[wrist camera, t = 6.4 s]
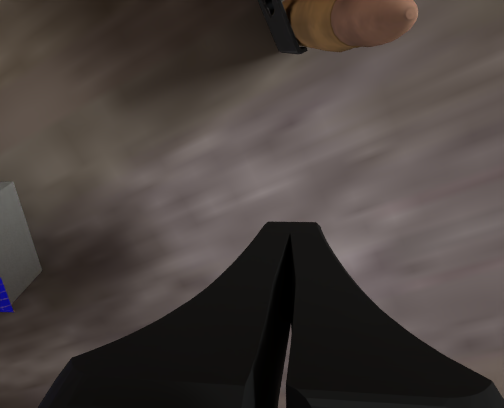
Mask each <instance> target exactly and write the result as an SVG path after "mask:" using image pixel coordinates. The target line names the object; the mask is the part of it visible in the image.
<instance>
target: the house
mask: <svg viewBox="0 0 504 408" xmlns="http://www.w3.org/2000/svg"><path fill="white" fill-rule="evenodd" d="M41 272H42V268H41V265H40V262H39V259H38V256H37V253H36V250H35V247H34V244H33V241H32V238H31V234H30V231H29V228H28V225H27V222H26V219H25V216H24V213H23V210H22V207H21V204H20V201H19V198H18V195H17V192H16V189H15V186H14V183H13V182H0V312H14V311H15V310H13V308H12V306H11V305H12V303H13V302H14V301H15V300H16V299H17V298H18V297H19V295H20V294H21V293H22V292H23V291H24V290H25V289H26V288H27V287H28V286H29V285H30V283H31V282H32V281H33V280H34V279H35V278H36V277H37V276H38V275H39V274H40V273H41Z"/></svg>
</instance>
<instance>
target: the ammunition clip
mask: <svg viewBox="0 0 504 408" xmlns="http://www.w3.org/2000/svg"><path fill="white" fill-rule="evenodd" d="M258 2H259V4H260V7H261V9H262V12H263V14H264V16H265V19H266V21H267V24H268V26H269V29H270V31H271V34H272V36H273V38H274V41H275V43H276V46H277V48H278V51H279V52H282V53H292V54H302V53H304V52H306V51H307V48H306V47H310V48H315V49H320V50H325V51H332V52H342V51H346V50H350V49H352V48H358V47H373V46H377V45H382V44H385V43H389V42H391V41H394V40H396V39H397V38H399V37H400V36H402V35H403V34H404V33H406V32H407V31H408V30H410V29H411V27H412V26H413V25H414V23H415V22H416V19H417V17H418V8H417V5H416V3H415V2H414V0H258ZM299 45H301V46H305V47H299Z"/></svg>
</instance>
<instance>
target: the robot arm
mask: <svg viewBox="0 0 504 408" xmlns="http://www.w3.org/2000/svg"><path fill="white" fill-rule="evenodd" d="M290 325H291V328H292V337H291V347H290V356H289V364H288V373H287V380H286V408H504V399H503V397H502V396H501V394H500V393H499V391H498V389H497V388H496V386H495V385H494V383H493V382H492V381H491V380H489V379H487V378H486V377H484V376H482V375H480V374H478V373H476V372H474V371H473V370H471V369H469V368H467V367H465V366H463V365H461V364H459V363H458V362H456V361H454V360H452V359H450V358H448V357H446V356H445V355H443V354H441V353H440V352H438V351H437V350H435V349H434V348H432V347H431V346H429V345H427V344H426V343H424V342H423V341H421V340H420V339H418V338H417V337H415V336H414V335H413V334H411V333H410V332H408V331H407V330H406V329H404V328H403V327H402V326H401V325H399V324H398V323H397V322H396V321H394V320H393V319H392V318H390V317H389V316H388V315H387V314H386V313H384V312H383V311H382V310H381V309H380V308H379V307H378V306H377V305H376V304H375V303H374V302H373V301H372V300H371V299H370V298H369V297H368V296H367V295H366V294H365V293H364V292H363V291H362V290H361V288H360V287H359V286H358V285H357V284H356V283H355V281H354V280H353V279H352V278H351V276H350V275H349V274H348V273H347V271H346V270H345V269H344V267H343V266H342V264H341V263H340V262H339V260H338V259H337V257H336V256H335V254H334V253H333V251H332V249H331V248H330V246H329V244H328V242H327V241H326V239H325V237H324V235H323V232H322V230H321V227H320V226H319V225H318V224H317V223H316V222H267V223H266V224H265V225H264V226H263V228H262V229H261V230H260V232H259V233H258V234H257V236H256V237H255V238H254V240H253V241H252V242H251V243H250V244H249V246H248V247H247V248H246V249H245V250H244V251H243V253H242V254H241V255H240V256H239V257H238V258H237V259H236V260H235V262H234V263H233V264H232V265H231V266H230V267H229V268H227V269H226V270H225V271H224V272H223V273H222V274H221V275H220V276H219V277H218V278H217V279H216V280H215V281H214V282H213V283H212V284H210V285H209V286H208V287H207V288H206V289H204V290H203V291H202V292H201V293H199V294H198V295H197V296H195V297H194V298H192V299H191V300H190V301H188V302H186V303H185V304H183V305H182V306H180V307H179V308H177V309H175V310H174V311H172V312H171V313H169V314H167V315H166V316H164V317H163V318H161V319H159V320H157V321H155V322H153V323H152V324H150V325H148V326H146V327H144V328H142V329H140V330H138V331H136V332H134V333H132V334H130V335H128V336H125V337H123V338H121V339H119V340H116V341H114V342H111V343H109V344H106V345H104V346H101V347H99V348H96V349H94V350H91V351H89V352H86V353H84V354H81V355H78V356H75V357H72V358H71V359H70V361H69V362H68V363H67V365H66V366H65V368H64V369H63V370H62V372H61V373H60V374H59V376H58V377H57V378H56V380H55V381H54V383H53V384H52V386H51V388H50V389H49V391H48V392H47V394H46V395H45V397H44V399H43V400H42V402H41V403H40V405H39V407H38V408H278V400H279V393H280V387H281V381H282V375H283V368H284V362H285V356H286V350H287V344H288V338H289V331H290Z"/></svg>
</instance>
